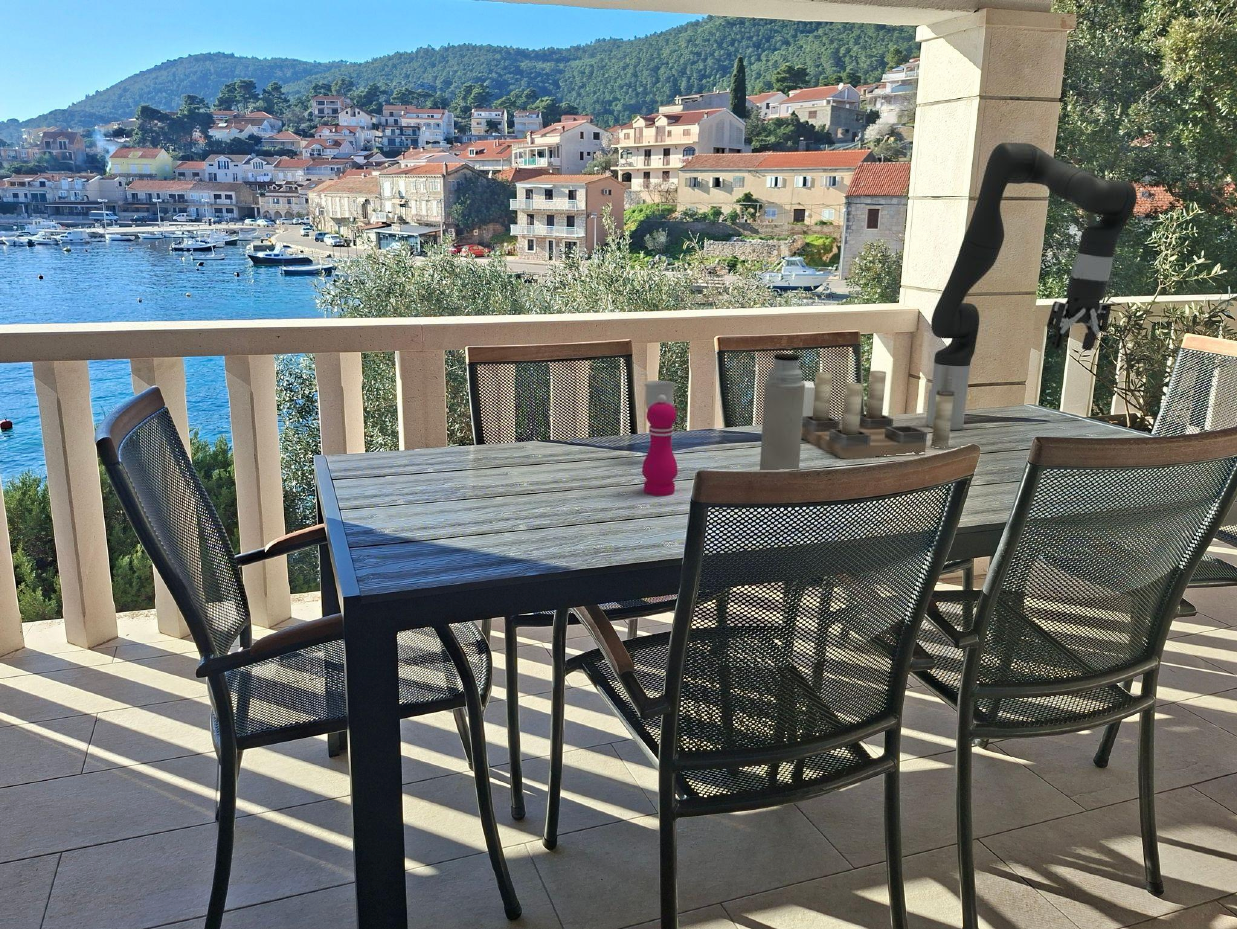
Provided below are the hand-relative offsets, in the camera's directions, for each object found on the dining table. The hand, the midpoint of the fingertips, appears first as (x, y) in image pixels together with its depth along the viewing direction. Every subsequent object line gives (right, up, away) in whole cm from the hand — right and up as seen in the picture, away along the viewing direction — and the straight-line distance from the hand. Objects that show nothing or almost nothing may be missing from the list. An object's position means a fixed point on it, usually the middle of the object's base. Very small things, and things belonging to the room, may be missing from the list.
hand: (1071, 349), depth 210 cm
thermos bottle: (-67, -31, -13) cm, 75 cm away
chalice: (-91, -25, +7) cm, 95 cm away
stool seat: (-40, -21, +24) cm, 52 cm away
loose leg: (-21, -21, +25) cm, 39 cm away
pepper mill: (-92, -31, -17) cm, 99 cm away
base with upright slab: (-51, -16, +42) cm, 68 cm away
